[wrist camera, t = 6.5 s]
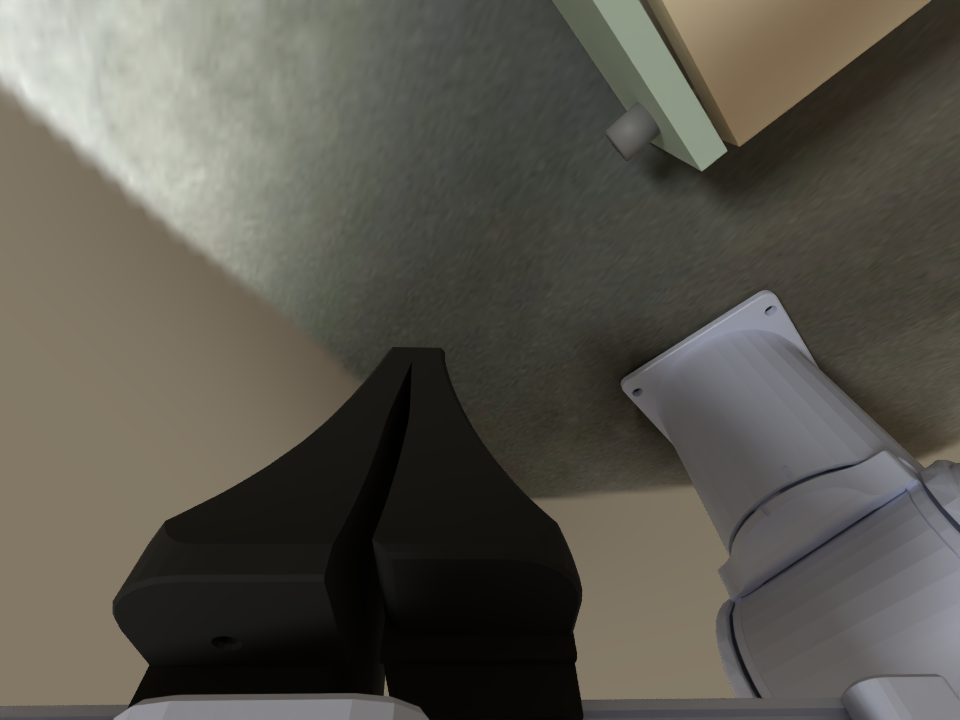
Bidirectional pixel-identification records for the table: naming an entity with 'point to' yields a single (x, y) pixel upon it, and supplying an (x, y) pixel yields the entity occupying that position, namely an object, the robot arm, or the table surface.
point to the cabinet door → (643, 82)
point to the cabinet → (767, 51)
